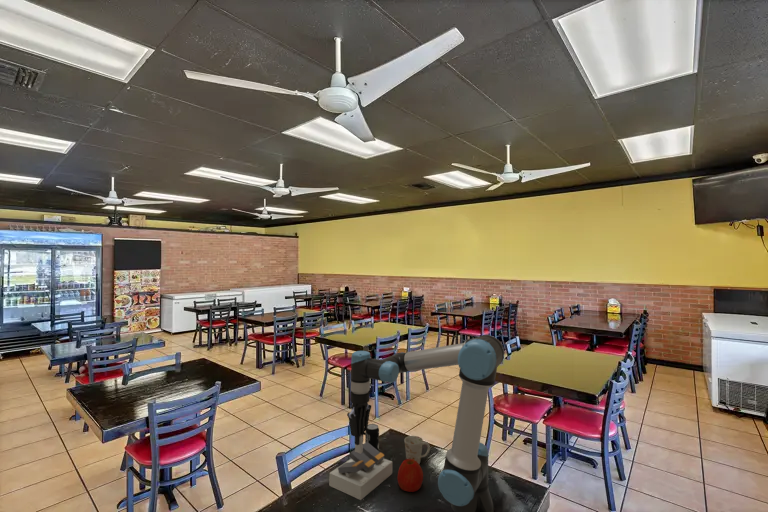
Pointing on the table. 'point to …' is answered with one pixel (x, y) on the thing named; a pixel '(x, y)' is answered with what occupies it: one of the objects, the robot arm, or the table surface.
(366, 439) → the beverage can
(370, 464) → the rocker mid
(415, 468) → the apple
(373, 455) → the rocker right
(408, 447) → the mug
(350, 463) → the rocker left
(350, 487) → the switch unit
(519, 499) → the table surface
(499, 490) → the table surface
